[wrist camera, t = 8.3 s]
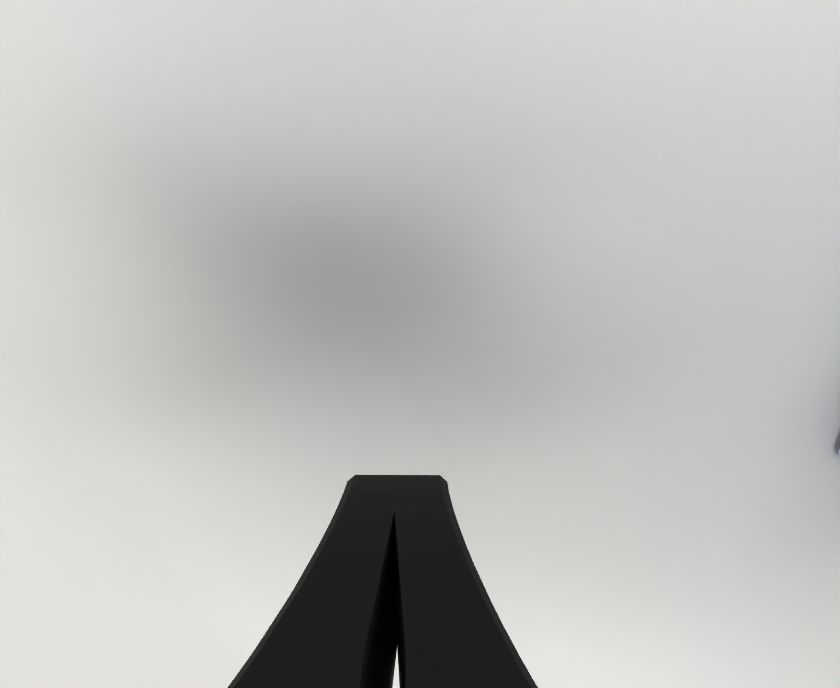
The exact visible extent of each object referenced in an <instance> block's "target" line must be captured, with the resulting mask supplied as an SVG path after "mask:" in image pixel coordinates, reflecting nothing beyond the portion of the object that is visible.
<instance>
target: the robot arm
mask: <svg viewBox="0 0 840 688" xmlns="http://www.w3.org/2000/svg"><path fill="white" fill-rule="evenodd" d="M838 455H839V458H840V449H839V454H838ZM397 647H398V665H399V682H400V688H538V687H537V686H536V684H535V682H534V681H533V679H532V677H531V675H530V674H529V672H528V670H527V668H526V667H525V665H524V663H523V661H522V660H521V658H520V656H519V654H518V652H517V650H516V649H515V647H514V645H513V643H512V641H511V639H510V637H509V636H508V634H507V632H506V630H505V628H504V626H503V624H502V622H501V620H500V618H499V616H498V614H497V612H496V611H495V609H494V607H493V605H492V603H491V600H490V598H489V596H488V594H487V592H486V589H485V587H484V585H483V583H482V581H481V579H480V576H479V574H478V572H477V570H476V568H475V566H474V563H473V561H472V559H471V556H470V554H469V551H468V549H467V546H466V544H465V541H464V538H463V536H462V533H461V530H460V528H459V525H458V522H457V519H456V516H455V513H454V510H453V506H452V503H451V499H450V495H449V490H448V484H447V481H446V480H444V479H443V478H442V477H441V476H440V475H355V476H353V477H352V478H351V479H350V480H349V481H348V482H347V485H346V487H345V490H344V493H343V495H342V498H341V500H340V503H339V505H338V507H337V509H336V512H335V514H334V516H333V518H332V520H331V522H330V524H329V526H328V528H327V530H326V532H325V534H324V536H323V538H322V540H321V542H320V544H319V546H318V548H317V549H316V551H315V553H314V555H313V556H312V558H311V560H310V562H309V563H308V565H307V567H306V569H305V570H304V572H303V574H302V576H301V577H300V579H299V581H298V583H297V584H296V586H295V588H294V590H293V591H292V593H291V595H290V596H289V598H288V599H287V601H286V603H285V604H284V606H283V607H282V609H281V610H280V612H279V613H278V615H277V616H276V618H275V620H274V621H273V623H272V624H271V626H270V627H269V629H268V630H267V632H266V633H265V635H264V636H263V638H262V639H261V641H260V642H259V644H258V646H257V647H256V649H255V650H254V652H253V653H252V654H251V656H250V657H249V659H248V660H247V662H246V663H245V664H244V666H243V667H242V669H241V670H240V671H239V673H238V674H237V676H236V677H235V678H234V680H233V681H232V682H231V684H230V685H229V687H228V688H392V685H393V676H394V668H395V660H396V651H397Z"/></svg>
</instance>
